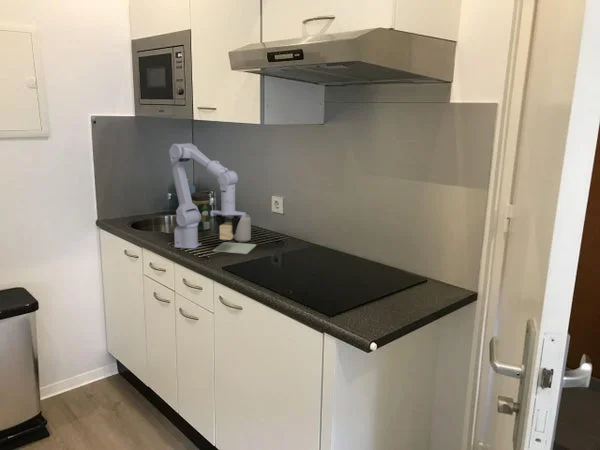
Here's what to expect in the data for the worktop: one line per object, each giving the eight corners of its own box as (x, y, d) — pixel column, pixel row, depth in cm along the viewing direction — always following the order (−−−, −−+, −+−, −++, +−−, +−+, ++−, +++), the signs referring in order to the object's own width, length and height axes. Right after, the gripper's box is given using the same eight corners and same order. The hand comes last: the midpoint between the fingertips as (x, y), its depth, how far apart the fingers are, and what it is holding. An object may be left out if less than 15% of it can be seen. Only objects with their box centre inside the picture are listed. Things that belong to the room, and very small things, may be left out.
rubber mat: (212, 251, 204) (212, 250, 203) (223, 243, 217) (223, 242, 217) (247, 253, 201) (247, 252, 201) (256, 245, 214) (256, 244, 214)
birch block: (226, 234, 204) (226, 221, 202) (236, 235, 203) (236, 222, 202) (219, 239, 196) (219, 225, 195) (230, 239, 195) (230, 226, 194)
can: (253, 239, 225) (253, 213, 223) (247, 243, 218) (247, 217, 216) (237, 237, 227) (237, 212, 224) (231, 241, 220) (231, 215, 217)
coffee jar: (188, 228, 243) (187, 192, 239) (201, 226, 249) (201, 190, 245) (199, 232, 237) (198, 194, 233) (212, 229, 242) (212, 193, 238)
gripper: (207, 201, 194) (207, 234, 197) (242, 203, 191) (242, 237, 194) (213, 198, 200) (214, 230, 203) (247, 200, 198) (247, 233, 201)
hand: (228, 233), depth 199 cm, fingers closed on birch block, 4 cm apart
